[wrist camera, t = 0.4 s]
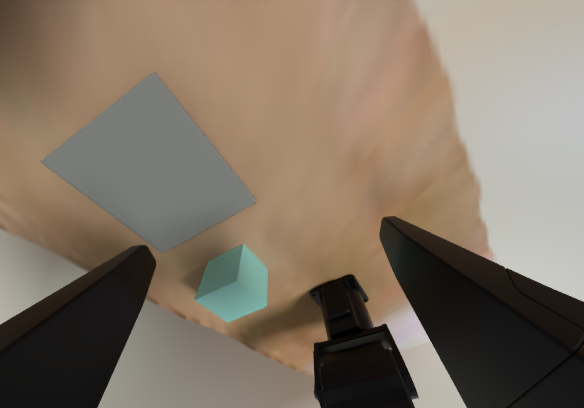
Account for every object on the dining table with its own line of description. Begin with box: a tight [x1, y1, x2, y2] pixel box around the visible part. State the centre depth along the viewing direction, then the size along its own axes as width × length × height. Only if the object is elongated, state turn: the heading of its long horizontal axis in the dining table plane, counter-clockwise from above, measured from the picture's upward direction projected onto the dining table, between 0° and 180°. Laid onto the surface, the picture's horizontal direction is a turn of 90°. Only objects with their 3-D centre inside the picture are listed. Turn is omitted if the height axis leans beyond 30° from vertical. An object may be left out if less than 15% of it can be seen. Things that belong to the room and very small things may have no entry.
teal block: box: [195, 244, 268, 322], centre depth 23 cm, size 5×5×5 cm
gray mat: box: [41, 73, 256, 253], centre depth 18 cm, size 12×12×1 cm
